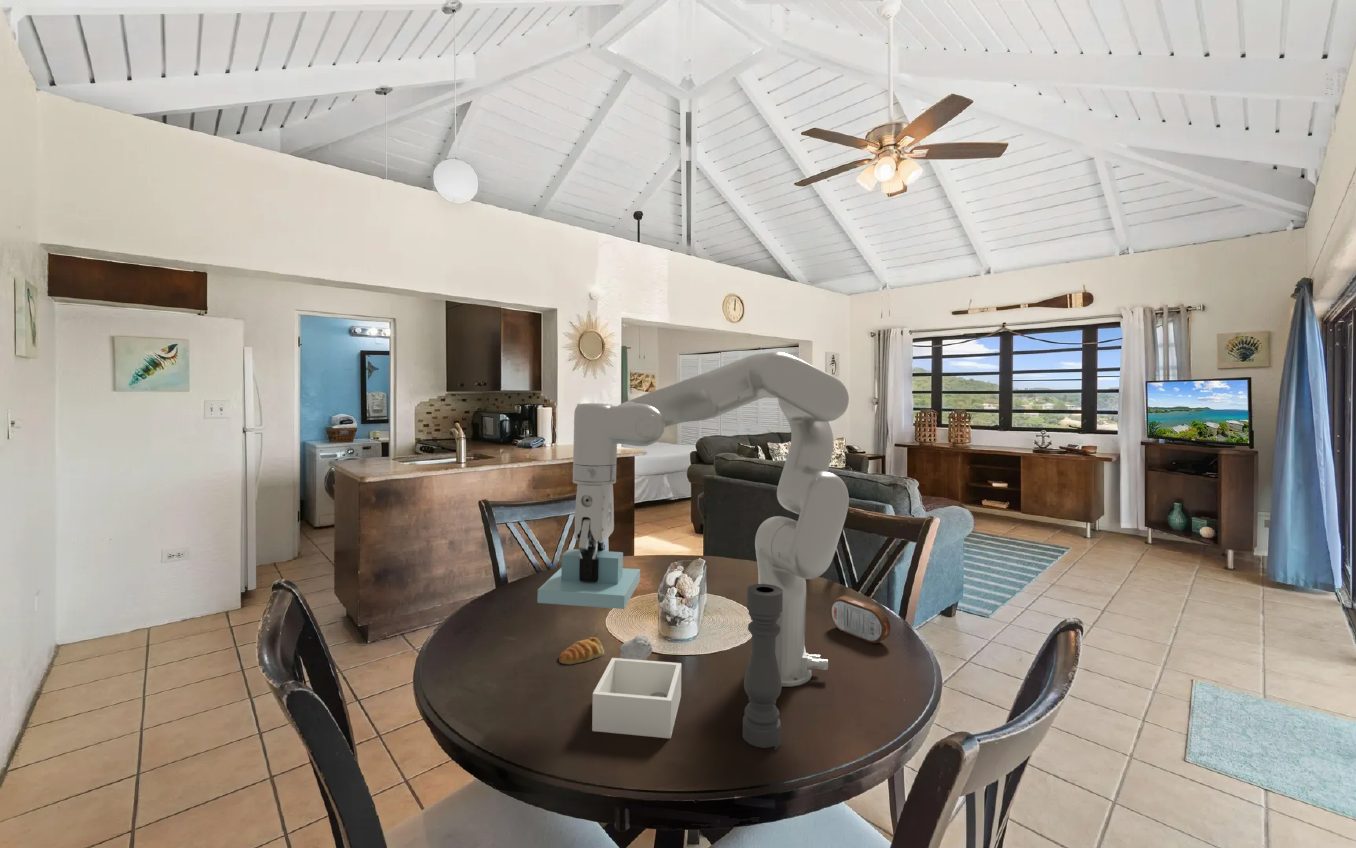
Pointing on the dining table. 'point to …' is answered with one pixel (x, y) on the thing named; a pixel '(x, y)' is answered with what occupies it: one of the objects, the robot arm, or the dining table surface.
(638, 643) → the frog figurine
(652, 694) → the nut
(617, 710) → the tub
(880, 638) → the tin
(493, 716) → the dining table surface
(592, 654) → the pastry
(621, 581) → the lid
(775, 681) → the candle holder
